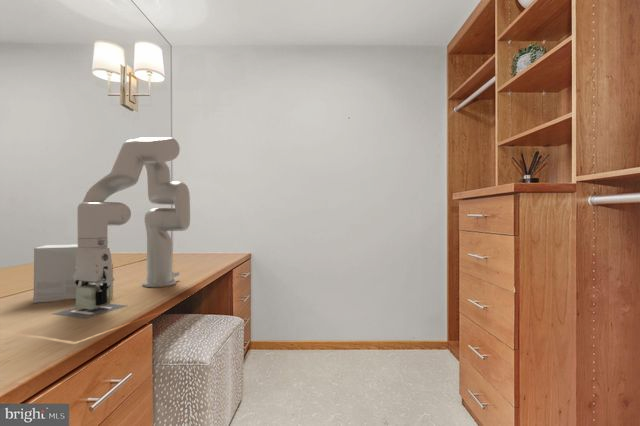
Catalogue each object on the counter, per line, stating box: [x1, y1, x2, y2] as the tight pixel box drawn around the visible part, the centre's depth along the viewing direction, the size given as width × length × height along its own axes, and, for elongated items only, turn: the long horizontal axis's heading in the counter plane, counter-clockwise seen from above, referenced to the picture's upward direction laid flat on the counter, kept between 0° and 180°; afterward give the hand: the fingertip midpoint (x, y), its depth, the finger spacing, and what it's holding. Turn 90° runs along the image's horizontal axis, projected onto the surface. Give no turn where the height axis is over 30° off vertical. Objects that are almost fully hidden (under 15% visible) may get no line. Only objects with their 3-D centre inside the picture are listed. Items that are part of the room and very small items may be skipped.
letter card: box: [52, 303, 127, 320], centre depth 103 cm, size 14×13×1 cm
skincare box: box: [100, 262, 114, 302], centre depth 116 cm, size 6×4×12 cm
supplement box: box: [32, 243, 95, 304], centre depth 121 cm, size 17×13×18 cm
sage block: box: [75, 283, 110, 309], centre depth 103 cm, size 6×6×6 cm
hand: (92, 302), depth 103 cm, fingers closed on sage block, 6 cm apart
